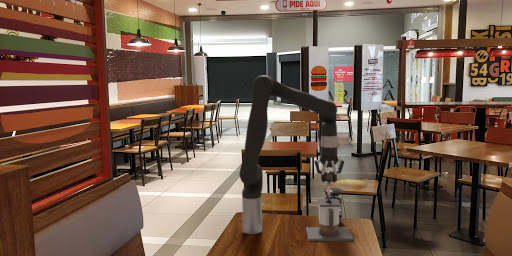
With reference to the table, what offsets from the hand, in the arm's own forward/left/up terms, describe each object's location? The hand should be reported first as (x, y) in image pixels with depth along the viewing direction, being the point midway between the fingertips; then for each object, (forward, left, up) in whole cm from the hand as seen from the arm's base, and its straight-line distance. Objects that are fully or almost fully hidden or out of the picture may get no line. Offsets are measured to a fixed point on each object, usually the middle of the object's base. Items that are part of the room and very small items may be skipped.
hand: (329, 181), depth 186 cm
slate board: (0, 0, -25) cm, 25 cm away
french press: (+4, +17, -26) cm, 31 cm away
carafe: (0, -1, -24) cm, 24 cm away
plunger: (0, 0, -10) cm, 10 cm away
